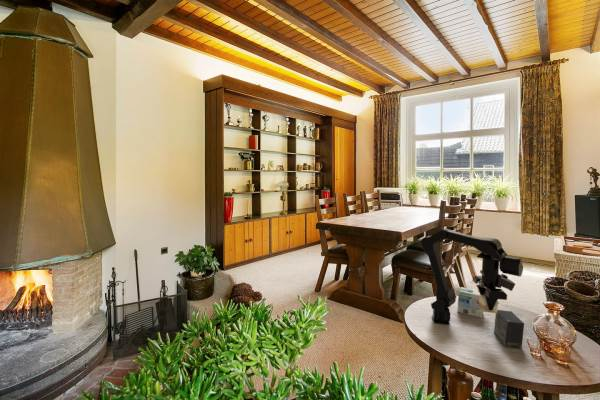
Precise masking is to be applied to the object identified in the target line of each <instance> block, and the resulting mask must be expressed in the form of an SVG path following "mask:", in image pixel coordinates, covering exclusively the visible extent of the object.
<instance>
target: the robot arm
mask: <svg viewBox="0 0 600 400" xmlns="http://www.w3.org/2000/svg"><path fill="white" fill-rule="evenodd" d="M445 240H449V241H453V242H455V243H460V244H462V245H467V246H469V247H472V248H475V249H476V250H477V251H479V252H480V253H478V254H477V255H476V257H477V258H479V259H482V260H481V262H482V263H481V269H480V270H479V273H480V274H481V275H475V276H474V277H473V283H475V284H476V285H475V286H476V288H477V290H478V291H479V293H480V295H484V296H485V299H486V302H487V306H488V308H489V310H493V308H494V306H495V303H496V301H498V300H501V301H502V300H504V301H506V300H508V294H507V293H506V292H505V291H504V290H503V289H502V288H504V289H507V290H509V291H511V292H512V291H513V290H514V288H515V287H516V283H515V282H514V281H512V280H510V279H509V278H508V275H510V276H515V277H522V275H523V272H524V265H523V261H522V258H521V257H512V256H508V253H507V252H506V251H505V249H504V248H503V245H502V243H501V241H500V240H499V239H497V238H494V237H493V238H492V237H482V236H481V237H478V236H475V235H471V234H467V233H464V232H459V231H455V230H453V229H449V228H442V229H440V230H439V231H437V232H436V233H434V234H431V235H429V236H425V237H423V238H422V239H421V241H420V245H421V247H422V250H423V251H424V253H425V254H426V255H427V257H428V260H429V265H430V267H431V270H432V274H433V279H434V282H435V285H436V286H435V287H436V290H435V291H436V292H435V298H436V300H435V301H434V302H431V303H430V307H431V309H432V315H431V318H432V320H433V322H434V324H443V325H451V323H450V321H451V311H450V309H449V308H450V307H452V306H453V305H454V304H455V302H456V301H457V299H458V298H457V296H456V293H455V288H451V287H450V286H449V285H448V281H447V277H446V273H445V270H444V266H443V264H442V263H443V262H442V259H441V256H440V253H441V252H440V251H441V250H440V249H441V244H440V243H441V242H443V241H445ZM499 272H502V273H501V274H500V273H499ZM506 274H507V275H506Z"/></svg>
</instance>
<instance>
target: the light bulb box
mask: <svg viewBox="0 0 600 400" xmlns="http://www.w3.org/2000/svg"><path fill="white" fill-rule="evenodd" d="M479 299H480V293H479V290H478V289H472V288H467V287H462V286H460V288H459V290H458V298H457V312H458V313H460V314H465V315H469V316H472V317H477V318H480V319H483V315H484V312H483V311H482V310H481V308H480V307H479ZM457 312H456V313H457Z"/></svg>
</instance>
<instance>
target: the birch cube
mask: <svg viewBox="0 0 600 400" xmlns="http://www.w3.org/2000/svg"><path fill="white" fill-rule="evenodd" d="M479 307H480V308H481V310H482V311H483V313H491V314H496V313H497V310H499V309H498V308H499V301H498V300H497V301H496V303H495V306H494V308H493V310H489V308H488V306H487V302H486V299H485V296H484V295H480V299H479Z"/></svg>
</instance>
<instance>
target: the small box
mask: <svg viewBox="0 0 600 400" xmlns="http://www.w3.org/2000/svg"><path fill="white" fill-rule="evenodd" d="M524 327H525V322H524V321H523V320H521V318H519V317H518V316H517V315H516V314H515V313H513V311H511V310H501V309H497V313H495V319H494V327H493V328H494V329H493V333H494V335H495V336H496V337H497V338H498V340H499V341H500V342H501V344H502V345H503V346H504V347H506V348H507V347H509V348H516V349H522V348H523V339H524V331H525V329H524Z"/></svg>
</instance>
